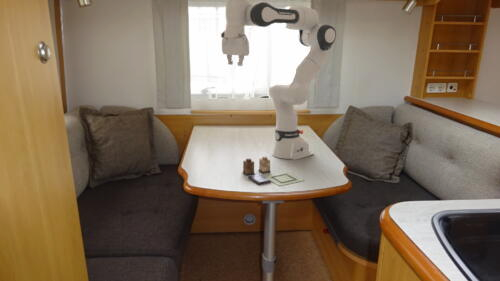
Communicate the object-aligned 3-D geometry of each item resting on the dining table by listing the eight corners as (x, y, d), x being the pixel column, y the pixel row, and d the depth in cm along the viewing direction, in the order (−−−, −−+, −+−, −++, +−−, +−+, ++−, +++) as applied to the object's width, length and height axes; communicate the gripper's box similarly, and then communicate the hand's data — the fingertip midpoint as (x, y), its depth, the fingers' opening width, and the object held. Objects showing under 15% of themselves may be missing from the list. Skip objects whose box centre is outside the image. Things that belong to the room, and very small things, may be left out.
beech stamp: (265, 169, 173) (266, 155, 171) (270, 172, 170) (270, 157, 168) (258, 171, 171) (258, 156, 169) (263, 173, 168) (263, 159, 166)
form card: (287, 172, 170) (287, 171, 170) (303, 180, 160) (304, 179, 160) (264, 177, 163) (264, 176, 163) (279, 186, 153) (279, 185, 153)
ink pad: (259, 176, 165) (259, 173, 164) (270, 182, 157) (270, 180, 157) (248, 178, 162) (248, 175, 161) (258, 185, 154) (258, 182, 154)
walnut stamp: (250, 171, 170) (250, 157, 168) (254, 174, 167) (254, 159, 165) (242, 173, 168) (242, 158, 166) (246, 175, 165) (247, 161, 163)
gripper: (252, 33, 158) (252, 66, 162) (231, 34, 175) (231, 63, 179) (240, 33, 155) (239, 66, 159) (219, 33, 172) (219, 64, 176)
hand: (235, 65), depth 169 cm, fingers open, 8 cm apart
